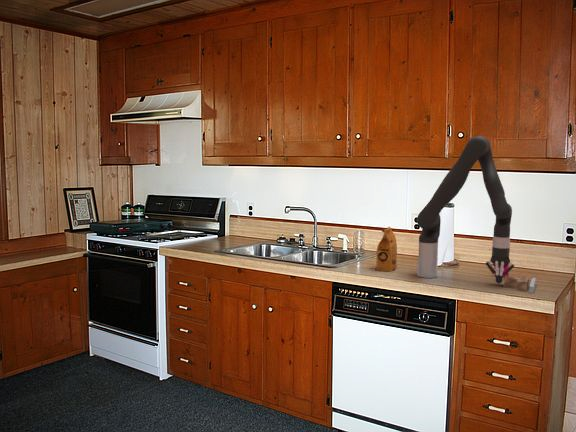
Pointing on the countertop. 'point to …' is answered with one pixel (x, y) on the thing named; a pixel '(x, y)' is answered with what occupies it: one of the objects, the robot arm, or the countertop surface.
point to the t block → (517, 282)
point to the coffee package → (387, 252)
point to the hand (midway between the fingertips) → (498, 283)
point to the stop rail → (532, 285)
